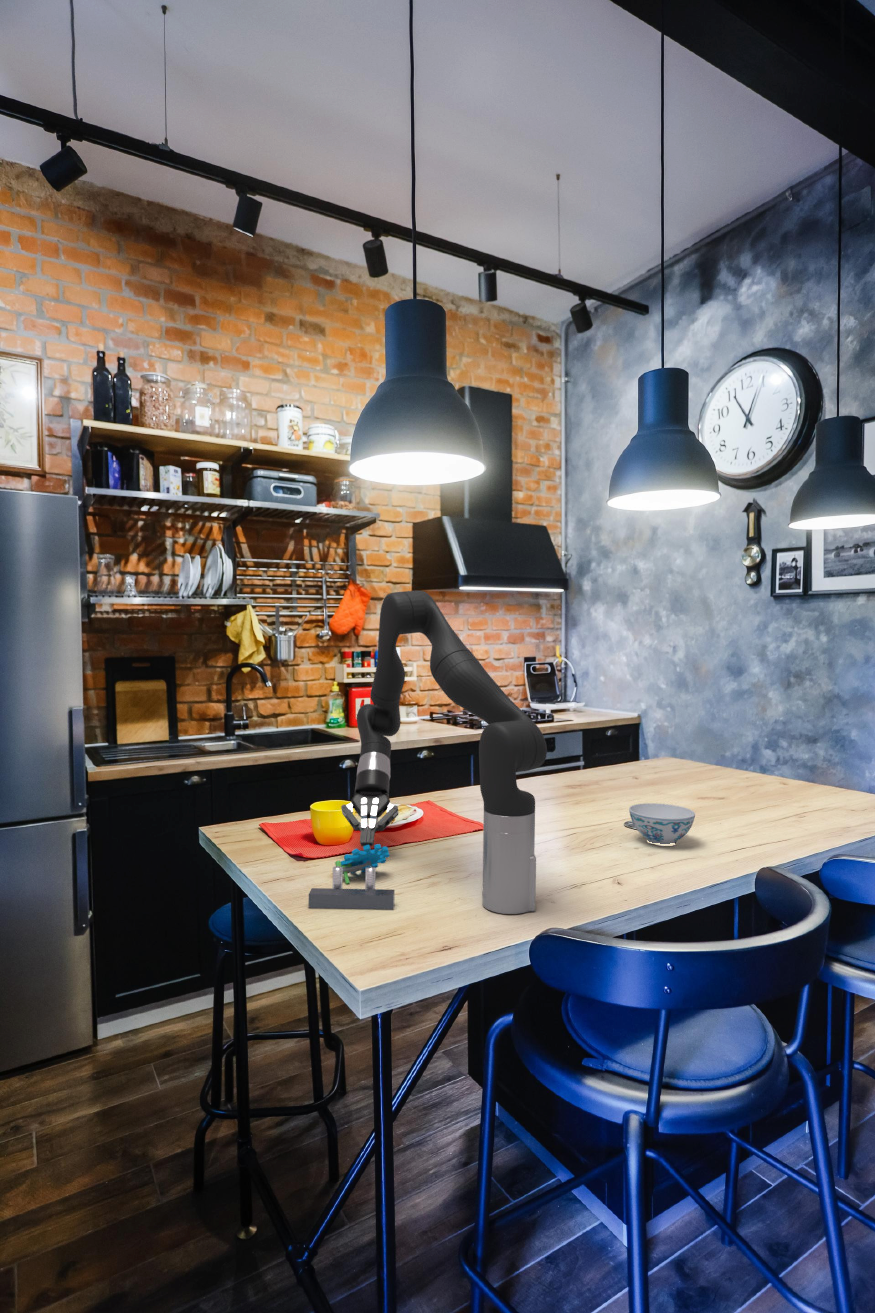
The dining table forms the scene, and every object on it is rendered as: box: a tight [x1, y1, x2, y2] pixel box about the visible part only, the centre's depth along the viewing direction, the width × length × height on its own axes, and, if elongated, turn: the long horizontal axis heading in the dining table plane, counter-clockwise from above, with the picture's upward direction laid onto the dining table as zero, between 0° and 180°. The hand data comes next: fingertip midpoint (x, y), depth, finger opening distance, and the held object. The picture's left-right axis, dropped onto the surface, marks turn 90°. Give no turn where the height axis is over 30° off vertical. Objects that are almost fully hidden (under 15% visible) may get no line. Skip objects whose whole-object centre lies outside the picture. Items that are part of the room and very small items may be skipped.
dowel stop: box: [308, 865, 396, 911], centre depth 129 cm, size 15×5×6 cm, turn 89°
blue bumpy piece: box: [334, 843, 391, 885], centre depth 142 cm, size 11×6×10 cm
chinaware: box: [628, 802, 696, 844], centre depth 171 cm, size 15×15×8 cm
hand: (366, 846), depth 150 cm, fingers closed
